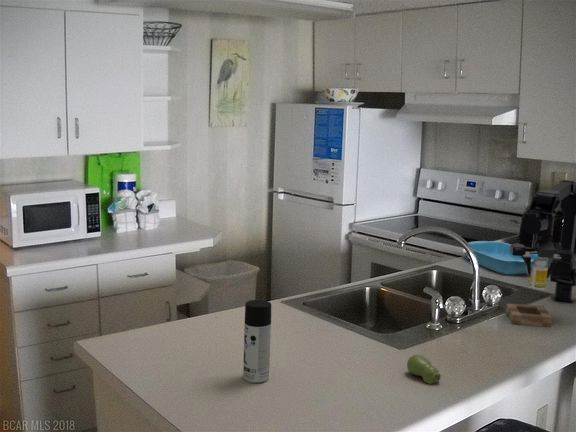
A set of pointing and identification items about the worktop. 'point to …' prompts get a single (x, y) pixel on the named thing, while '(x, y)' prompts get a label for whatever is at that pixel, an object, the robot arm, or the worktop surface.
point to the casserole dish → (499, 257)
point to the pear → (423, 369)
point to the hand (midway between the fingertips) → (537, 277)
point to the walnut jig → (528, 315)
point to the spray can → (257, 341)
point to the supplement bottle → (538, 274)
